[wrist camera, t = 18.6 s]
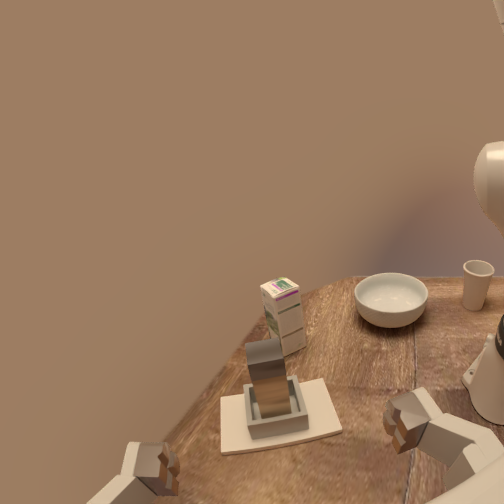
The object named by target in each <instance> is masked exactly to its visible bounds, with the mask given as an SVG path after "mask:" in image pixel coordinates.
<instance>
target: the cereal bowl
mask: <svg viewBox="0 0 504 504" xmlns="http://www.w3.org/2000/svg"><path fill="white" fill-rule="evenodd" d="M354 295H355V296H354V297H355V304H356V308H357V310H358V312H359V313H360V315H361V316H362V317H363V318H364V319H365V320H366V321H368V322H369V323H372V324H374V325H376V326H380V327H385V328H396V327H402V326H406V325H409V324H410V323H412V322H414V321H415V320H417V319H418V318H419V317H420V316H421V314H422V313H423V311H424V309H425V307H426V304H427V300H428V290H427V288H426V286H425V285H424V284H423V283H422V282H421V281H420V280H418V279H416V278H414V277H412V276H409V275H405V274H399V273H383V274H377V275H373V276H370V277H368V278H366V279H364V280H362V281H361V282H360V283H359V284H358V285H357V286H356V288H355V293H354Z"/></svg>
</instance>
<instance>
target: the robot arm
mask: <svg viewBox="0 0 504 504" xmlns="http://www.w3.org/2000/svg"><path fill="white" fill-rule="evenodd" d="M493 3H494V6H495V9H496V12H497V15H498V18H499V21H500V24H501V27H502V31H503V34H504V0H493ZM474 189H475V193H476V197H477V200H478V202H479V204H480V206H481V208H482V210H483V212H484V213H485V215H486V216H487V217H488V218H489V219H490V220H491V221H492V222H493V223H494V224H495V226H496V227H497V228H498V230H499V231H500V233H501V234H502V236H503V238H504V141H500V142H494V143H488V144H486V145H485V146H484V148H483V149H482V150H481V152H480V154H479V155H478V158H477V160H476V163H475V168H474ZM470 374H471V375H470ZM462 382H463V384H464V385H465V387H466V388H467V389H468V391H469V394H470V398H471V401H472V404H473V406H474V408H475V409H476V411H477V412H478V413H479V414H480V415H481V416H482V417H483V418H485V419H486V420H488V421H490V422H492V423H495V424H500V425H504V315H503V316H502V318H501V321H500V323H499V325H498V328H497V333H496V335H493V334H491V333H489V335H488V336H487V339H486V341H485V344H484V346H483V351H482V352H481V353H480V354H479V356H478V357H477V358H476V360H475V361H474V362H473V364H472V365H471V366H470V367H469V368H468V370H467V371H466V372H465V373H464V375H463V377H462ZM385 407H386V409H387V410H386V411H385V412H384V414H383V425H384V428H385V430H386V432H387V434H388V435H390V436H393V439H392V444H393V446H394V448H395V450H396V452H397V454H400V453H403V452H405V451H408V450H410V449H413V448H415V447H417V448H418V449H420V450H421V451H423V452H425V453H427V454H428V455H430V456H432V457H433V458H435V459H437V460H439V461H440V462H442V463H444V464H446V465H448V466H449V467H450V468H449V469H448V471H447V472H446V473H445V474H444V476H443V478H442V480H443V482H444V484H445V486H446V488H447V490H448V491H447V492H445V493H444V494H442V495H440V496H438V497H436V498H434V499H432V500H431V501H429V502H427V503H425V504H504V447H503V445H502V444H501V442H500V441H499V440H498V438H497V437H496V435H495V434H494V433H493V431H492V430H491V429H488V428H485V427H483V426H480V425H477V424H474V423H472V422H469V421H466V420H464V419H461V418H458V417H456V416H453V415H451V414H448V413H445V414H443V413H442V412H441V410H440V409H439V407H438V406H437V405H436V403H435V402H434V400H433V399H432V398H431V396H430V395H429V393H428V392H427V391H426V389H425V388H423V387H420V388H417V389H415V390H413V391H410V392H407V393H405V394H403V395H400V396H398V397H395V398H393V399H390V400H388V401H387V402H386V406H385ZM170 448H171V447H170V446H169V444H168V443H147V442H146V443H145V442H129V444H128V446H127V449H126V453H125V457H124V461H123V466H122V470H121V474H120V475H116V477H114V478H113V479H112V480H111V481H110V482H109V483H108V484H107V485H106V486H105V487H104V488H103V489H102V490H100V491H99V492H98V493H97V494H96V495H95V496H94V497H93V498H92V499H91V500H90V501H88V502H87V503H86V504H153V503H154V501H155V500H156V499H157V497H158V496H178V487H179V482H178V481H177V479H176V477H177V476H178V474H179V473H180V464H179V459H178V457H177V455H176V454H175V453H174V452H172V451H170Z"/></svg>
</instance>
